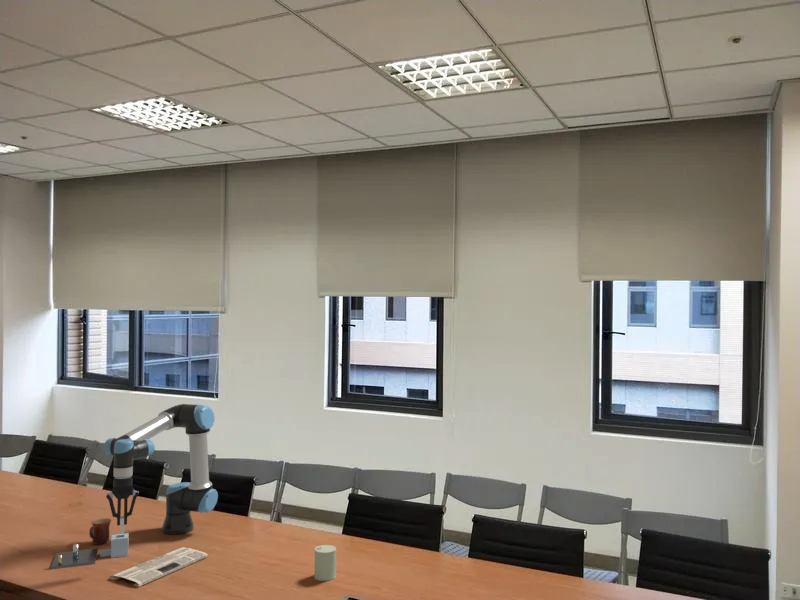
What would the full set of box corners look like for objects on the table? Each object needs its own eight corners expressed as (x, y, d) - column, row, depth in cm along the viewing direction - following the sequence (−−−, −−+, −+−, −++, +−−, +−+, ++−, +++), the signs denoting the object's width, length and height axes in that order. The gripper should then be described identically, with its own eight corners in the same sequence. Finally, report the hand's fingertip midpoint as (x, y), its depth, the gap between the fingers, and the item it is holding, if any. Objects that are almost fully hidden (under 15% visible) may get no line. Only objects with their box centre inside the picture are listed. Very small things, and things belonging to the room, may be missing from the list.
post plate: (98, 550, 289) (98, 536, 289) (95, 563, 273) (95, 548, 274) (56, 555, 283) (57, 540, 283) (51, 569, 267) (51, 553, 267)
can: (314, 572, 265) (314, 543, 265) (336, 571, 266) (336, 543, 266) (313, 581, 256) (313, 551, 256) (336, 580, 257) (336, 551, 257)
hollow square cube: (128, 550, 289) (128, 533, 290) (127, 555, 283) (128, 537, 283) (100, 553, 285) (101, 536, 285) (99, 559, 279) (100, 541, 279)
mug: (98, 538, 305) (99, 517, 305) (114, 540, 303) (115, 518, 303) (81, 547, 293) (82, 525, 293) (98, 549, 291) (98, 526, 291)
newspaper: (138, 589, 249) (139, 582, 249) (106, 579, 258) (107, 572, 258) (207, 558, 281) (207, 552, 281) (177, 551, 290) (177, 545, 290)
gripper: (139, 473, 272) (138, 528, 271) (106, 475, 267) (105, 531, 267) (139, 477, 265) (138, 533, 264) (105, 480, 260) (104, 537, 260)
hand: (121, 532), depth 265 cm, fingers closed
